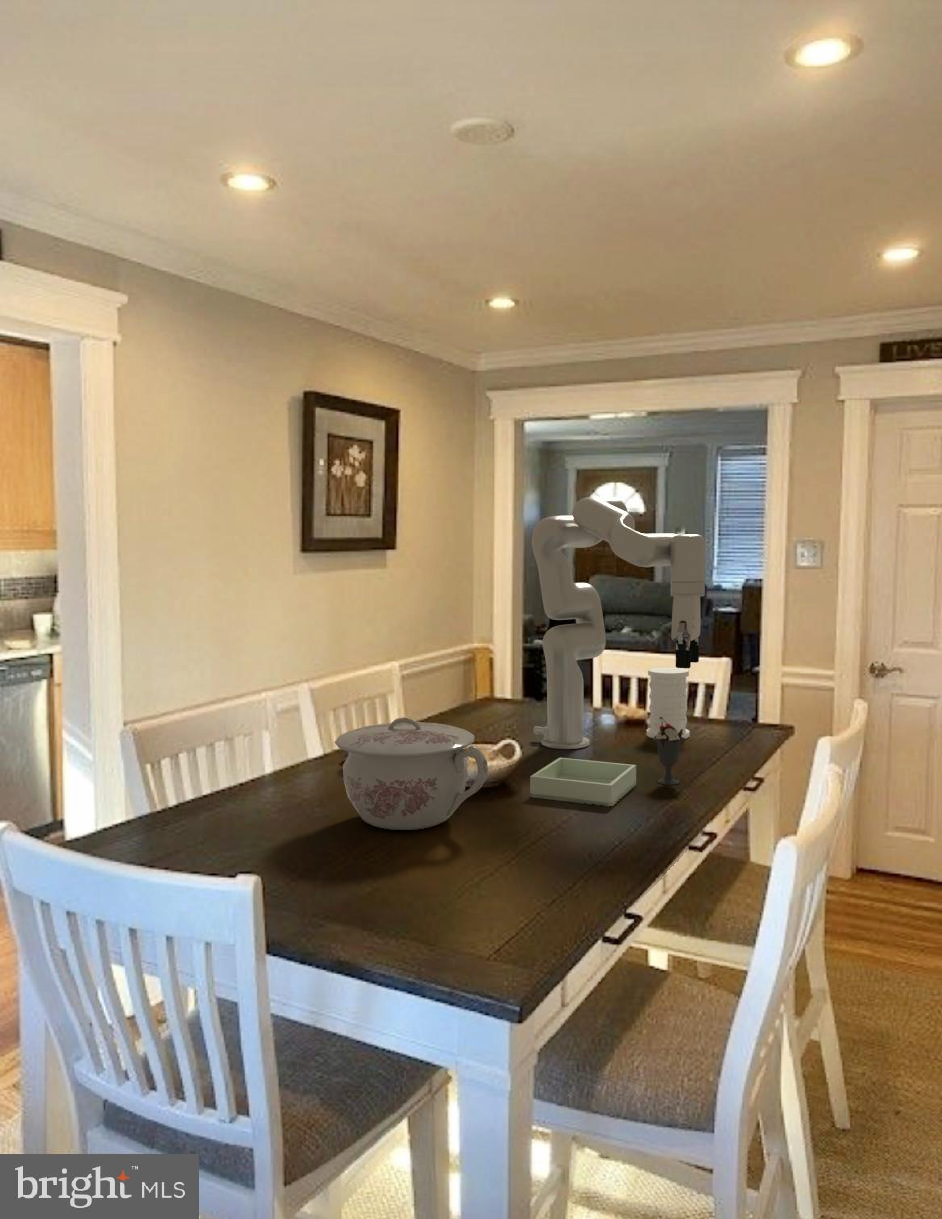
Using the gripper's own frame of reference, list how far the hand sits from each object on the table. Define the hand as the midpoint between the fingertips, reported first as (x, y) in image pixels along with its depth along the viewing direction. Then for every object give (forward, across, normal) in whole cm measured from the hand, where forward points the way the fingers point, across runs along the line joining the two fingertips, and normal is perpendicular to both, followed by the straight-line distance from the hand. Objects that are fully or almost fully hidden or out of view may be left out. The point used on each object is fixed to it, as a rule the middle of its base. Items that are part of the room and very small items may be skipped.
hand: (687, 665), depth 217 cm
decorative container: (+26, -42, -14) cm, 51 cm away
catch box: (+26, +19, -19) cm, 37 cm away
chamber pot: (+26, +52, -45) cm, 73 cm away
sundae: (+26, +6, -3) cm, 27 cm away
